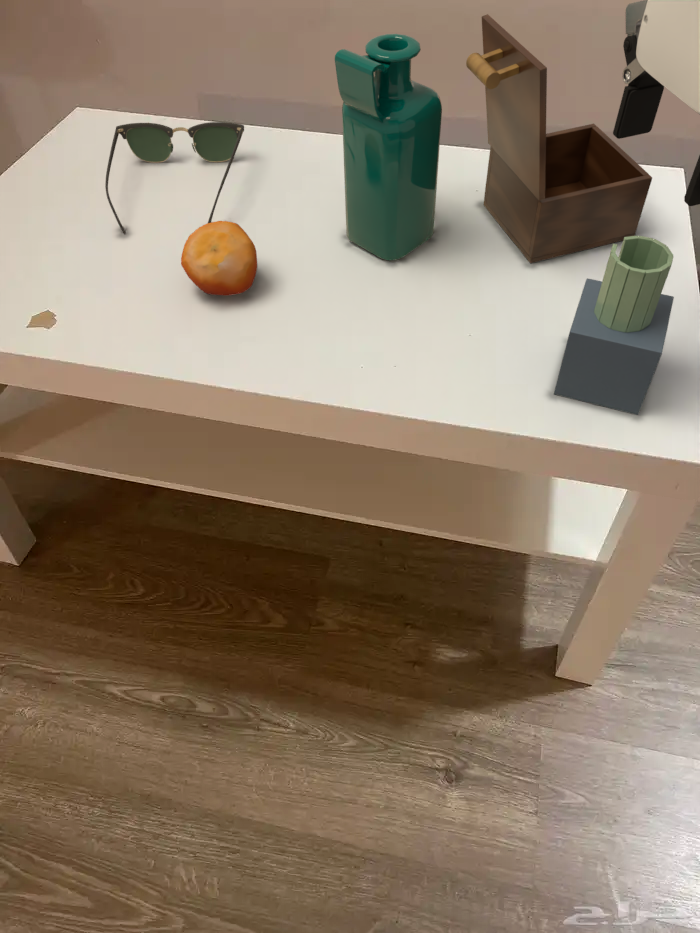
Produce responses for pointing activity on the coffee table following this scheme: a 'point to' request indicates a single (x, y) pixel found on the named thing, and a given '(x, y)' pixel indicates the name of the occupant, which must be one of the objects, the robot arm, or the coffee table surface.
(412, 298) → the coffee table surface
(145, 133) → the sunglasses
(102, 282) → the coffee table surface
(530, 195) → the chest
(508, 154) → the lid
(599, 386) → the slate grey cube
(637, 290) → the cup
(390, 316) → the coffee table surface
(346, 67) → the green bottle
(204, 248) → the fruit
